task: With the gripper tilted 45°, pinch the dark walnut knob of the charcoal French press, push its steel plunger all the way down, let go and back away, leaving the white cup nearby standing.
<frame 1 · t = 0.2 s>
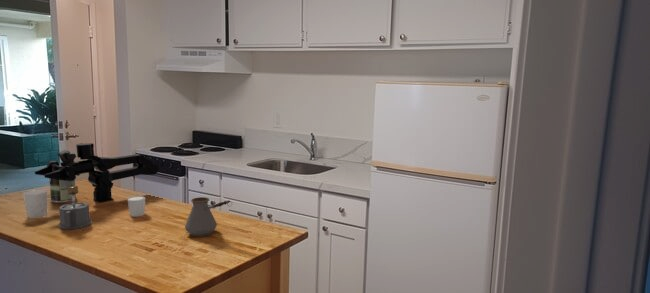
hand: (39, 174, 181), 17 cm above the counter, tool horizontal, fingers open, 9 cm apart
shot glass: (137, 214, 184), on the counter
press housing: (75, 224, 170), on the counter
coffee can: (63, 199, 204), on the counter
white cup: (37, 216, 180), on the counter
plunger: (73, 197, 169), point 11 cm above the counter, slide at 0.0 cm
coffee pot: (210, 236, 162), on the counter
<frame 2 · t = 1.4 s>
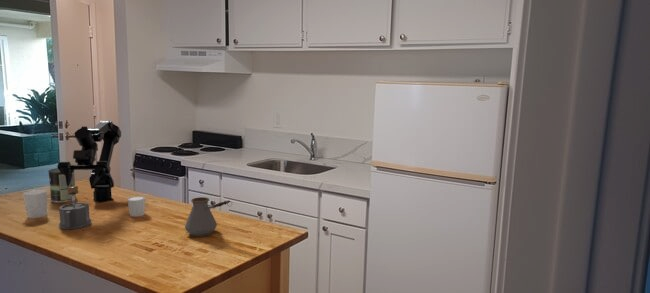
hand: (80, 185, 176), 14 cm above the counter, tool tilted 45°, fingers open, 9 cm apart
nothing on the counter moved.
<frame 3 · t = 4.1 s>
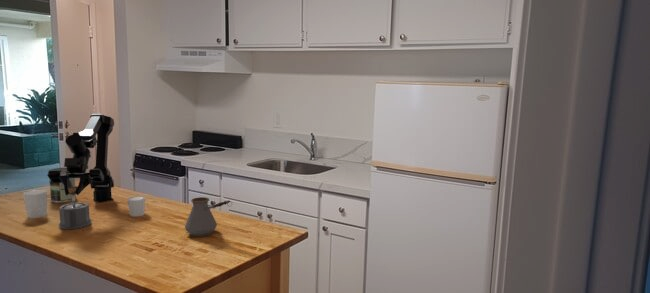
hand: (71, 194, 167), 12 cm above the counter, tool tilted 45°, fingers closed on plunger, 3 cm apart
plunger: (73, 197, 169), point 11 cm above the counter, slide at 0.0 cm, touching gripper
everything else where it was.
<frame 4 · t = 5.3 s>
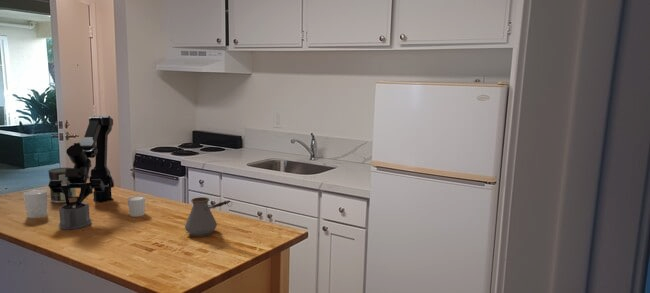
hand: (72, 205, 168), 8 cm above the counter, tool tilted 45°, fingers closed on plunger, 3 cm apart
plunger: (74, 207, 169), point 7 cm above the counter, slide at 4.1 cm, touching gripper
everything else where it was.
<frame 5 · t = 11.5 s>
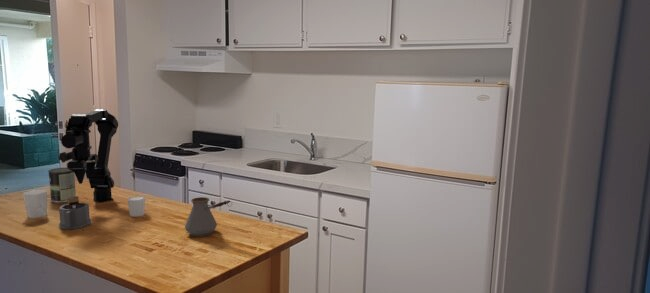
hand: (84, 181, 186), 13 cm above the counter, tool pointing down, fingers open, 9 cm apart
plunger: (74, 207, 169), point 7 cm above the counter, slide at 4.1 cm
everything else where it was.
at the end: plunger slide at 4.1 cm; the gripper is holding nothing; white cup tilted 0° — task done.
